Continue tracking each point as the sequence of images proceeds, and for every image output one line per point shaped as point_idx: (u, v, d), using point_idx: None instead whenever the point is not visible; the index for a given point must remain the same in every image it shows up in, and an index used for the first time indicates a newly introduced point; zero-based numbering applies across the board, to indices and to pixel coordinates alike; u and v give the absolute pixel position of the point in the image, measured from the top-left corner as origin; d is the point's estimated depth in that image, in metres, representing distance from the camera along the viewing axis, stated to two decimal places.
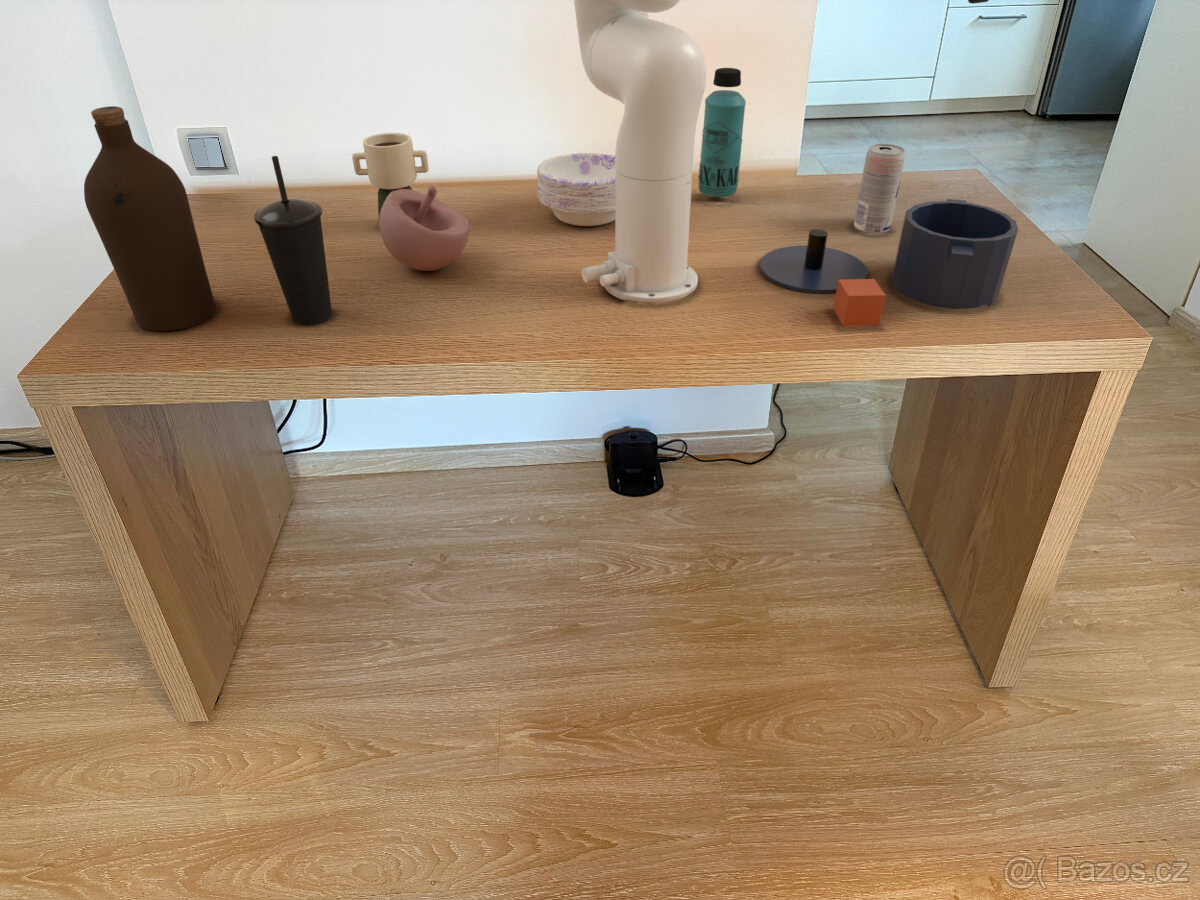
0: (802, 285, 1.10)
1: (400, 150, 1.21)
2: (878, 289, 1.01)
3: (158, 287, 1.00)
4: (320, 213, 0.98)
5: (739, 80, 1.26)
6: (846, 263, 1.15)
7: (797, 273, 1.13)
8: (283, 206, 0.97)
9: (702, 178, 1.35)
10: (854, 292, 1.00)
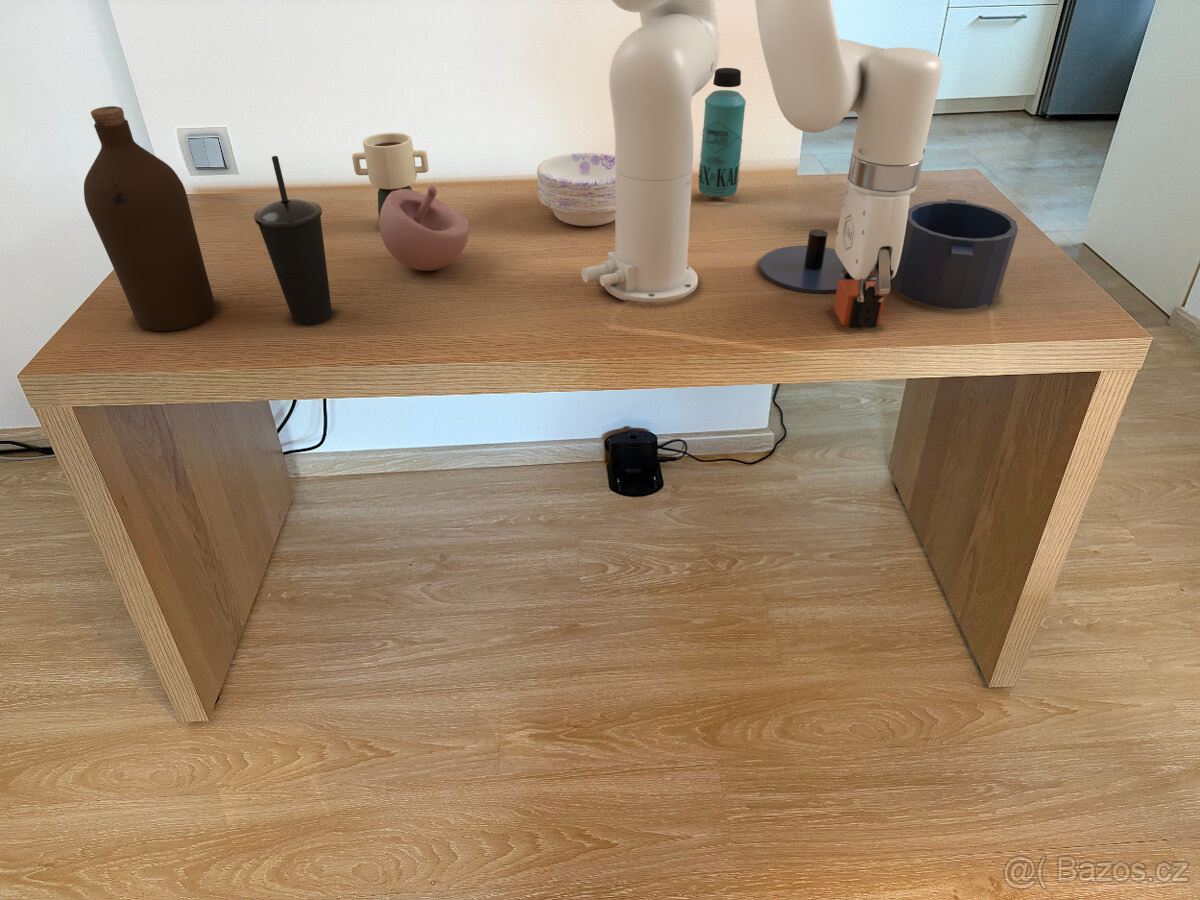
0: (802, 285, 1.10)
1: (400, 150, 1.21)
2: None
3: (158, 287, 1.00)
4: (320, 213, 0.98)
5: (739, 80, 1.26)
6: None
7: (797, 273, 1.13)
8: (283, 206, 0.97)
9: (702, 178, 1.35)
10: (854, 292, 1.00)
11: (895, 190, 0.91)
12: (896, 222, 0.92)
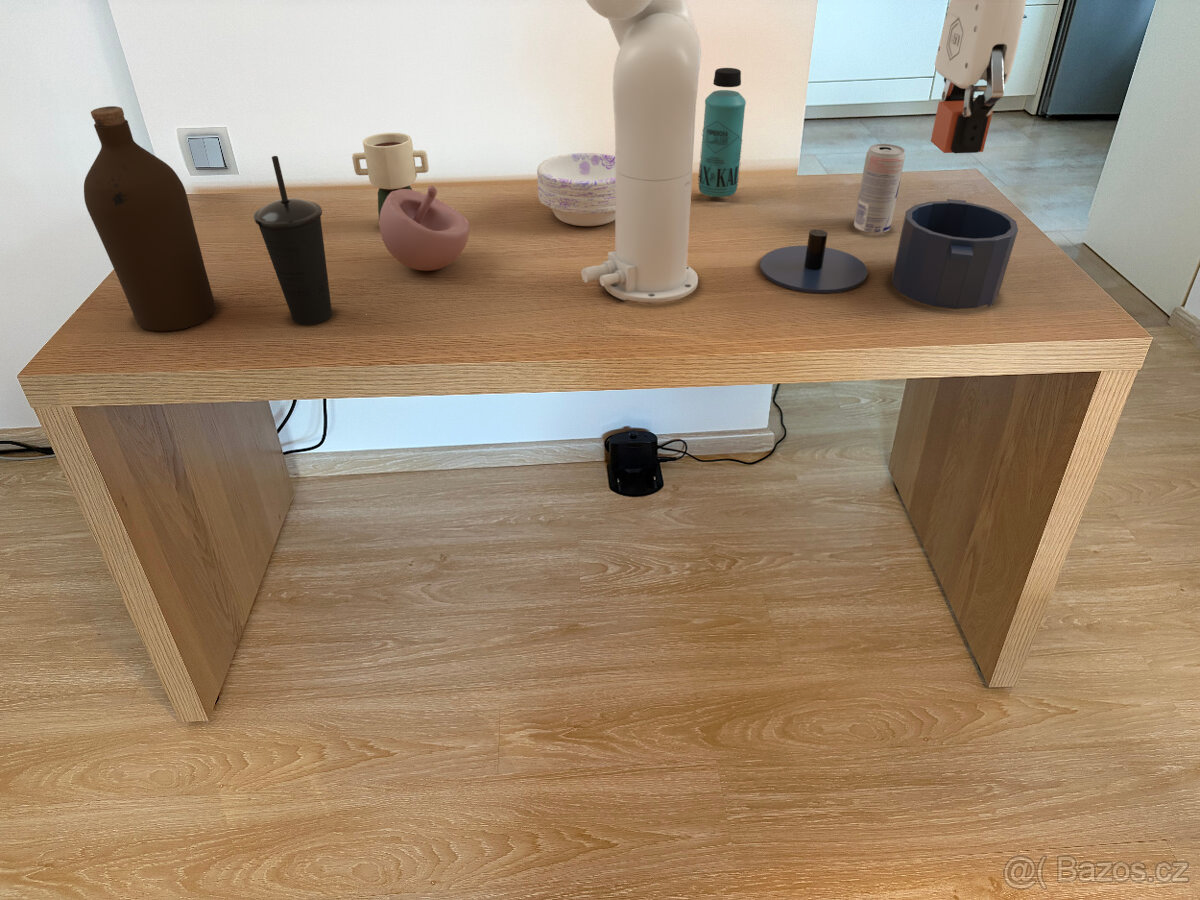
0: (802, 285, 1.10)
1: (400, 150, 1.21)
2: None
3: (158, 287, 1.00)
4: (320, 213, 0.98)
5: (739, 80, 1.26)
6: (846, 263, 1.15)
7: (797, 273, 1.13)
8: (283, 206, 0.97)
9: (702, 178, 1.35)
10: (958, 109, 0.94)
11: None
12: (1012, 15, 0.85)
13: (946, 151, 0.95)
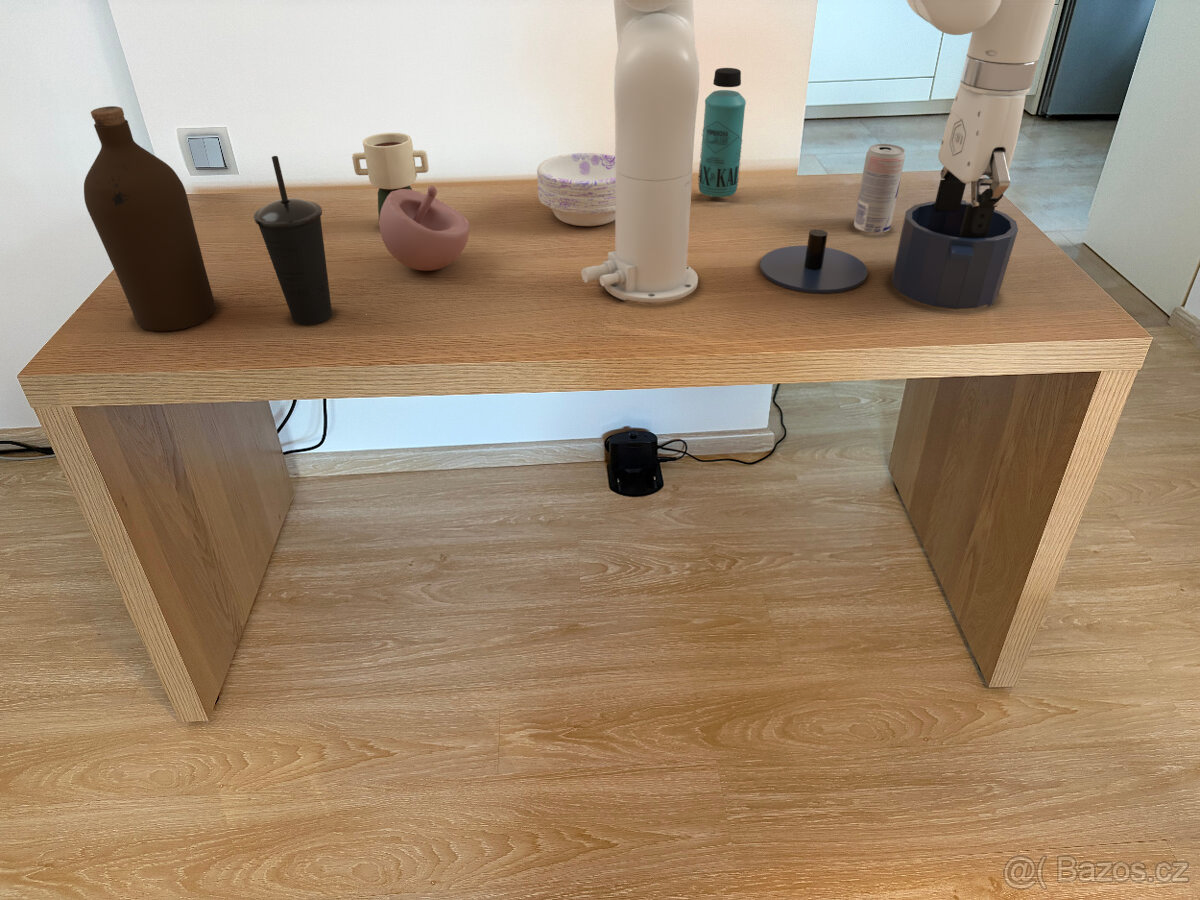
0: (802, 285, 1.10)
1: (400, 150, 1.21)
2: None
3: (158, 287, 1.00)
4: (320, 213, 0.98)
5: (739, 80, 1.26)
6: (846, 263, 1.15)
7: (797, 273, 1.13)
8: (283, 206, 0.97)
9: (702, 178, 1.35)
10: None
11: (1012, 89, 0.93)
12: (1011, 122, 0.94)
13: None
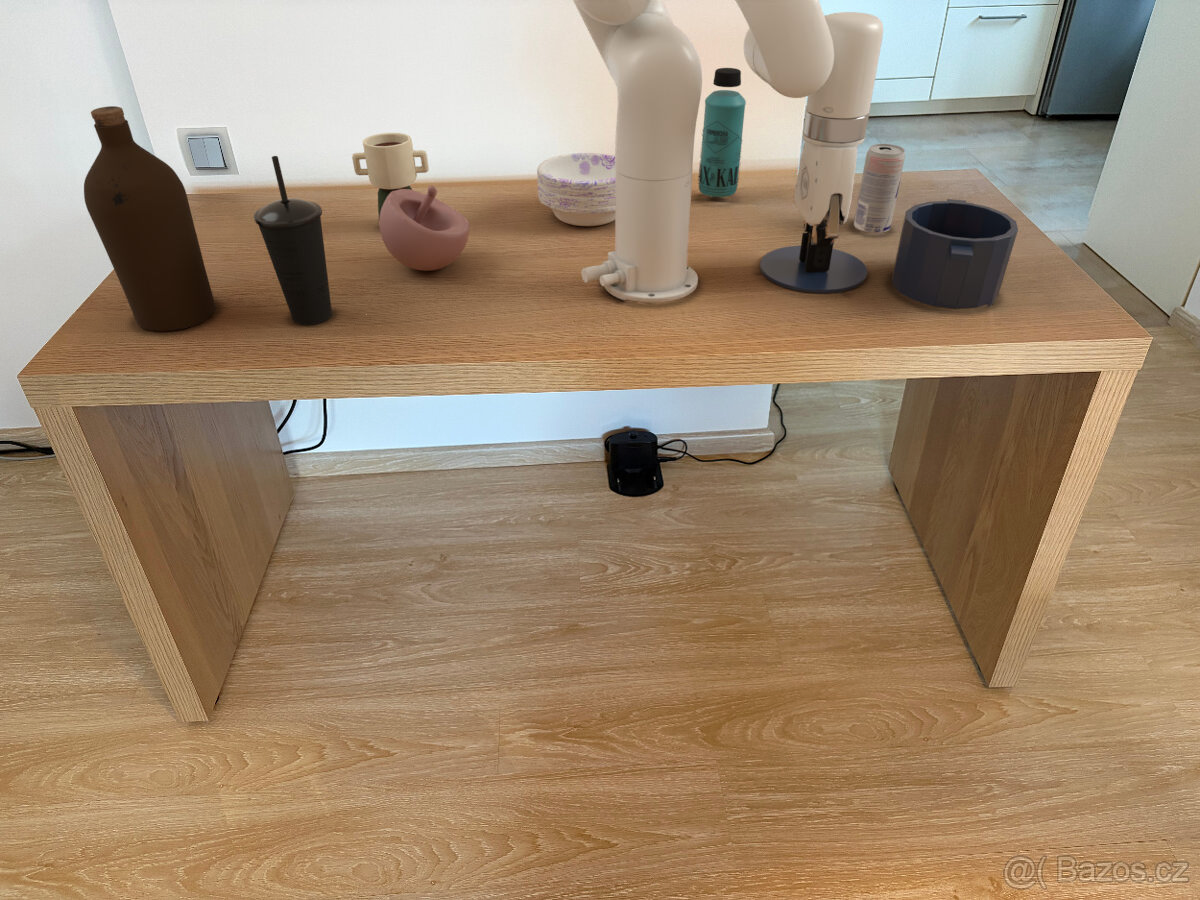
0: (802, 285, 1.10)
1: (400, 150, 1.21)
2: None
3: (158, 287, 1.00)
4: (320, 213, 0.98)
5: (739, 80, 1.26)
6: (846, 263, 1.15)
7: (797, 273, 1.13)
8: (283, 206, 0.97)
9: (702, 178, 1.35)
10: None
11: (844, 141, 1.01)
12: (845, 171, 1.02)
13: None
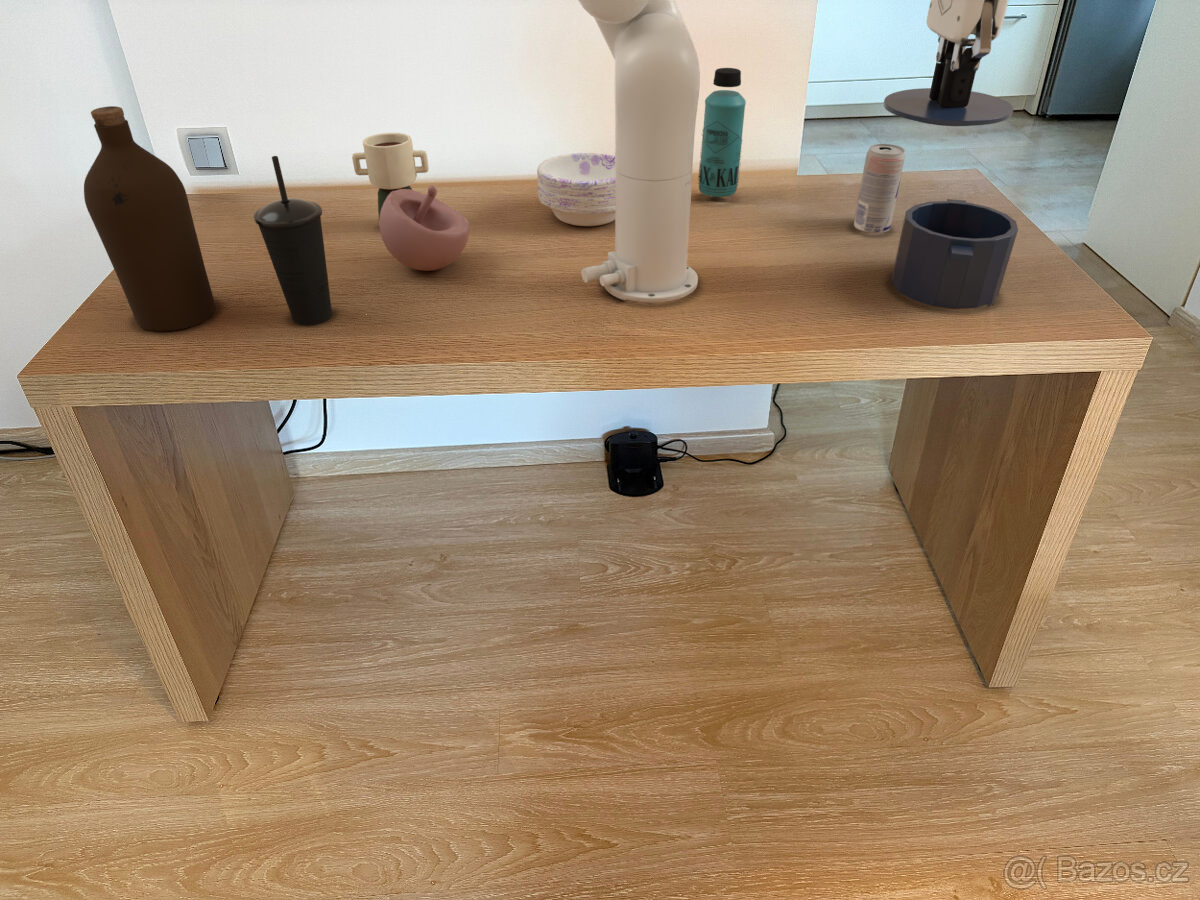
0: (941, 117, 0.94)
1: (400, 150, 1.21)
2: None
3: (158, 287, 1.00)
4: (320, 213, 0.98)
5: (739, 80, 1.26)
6: (985, 100, 0.99)
7: (931, 109, 0.97)
8: (283, 206, 0.97)
9: (702, 178, 1.35)
10: None
11: None
12: None
13: None
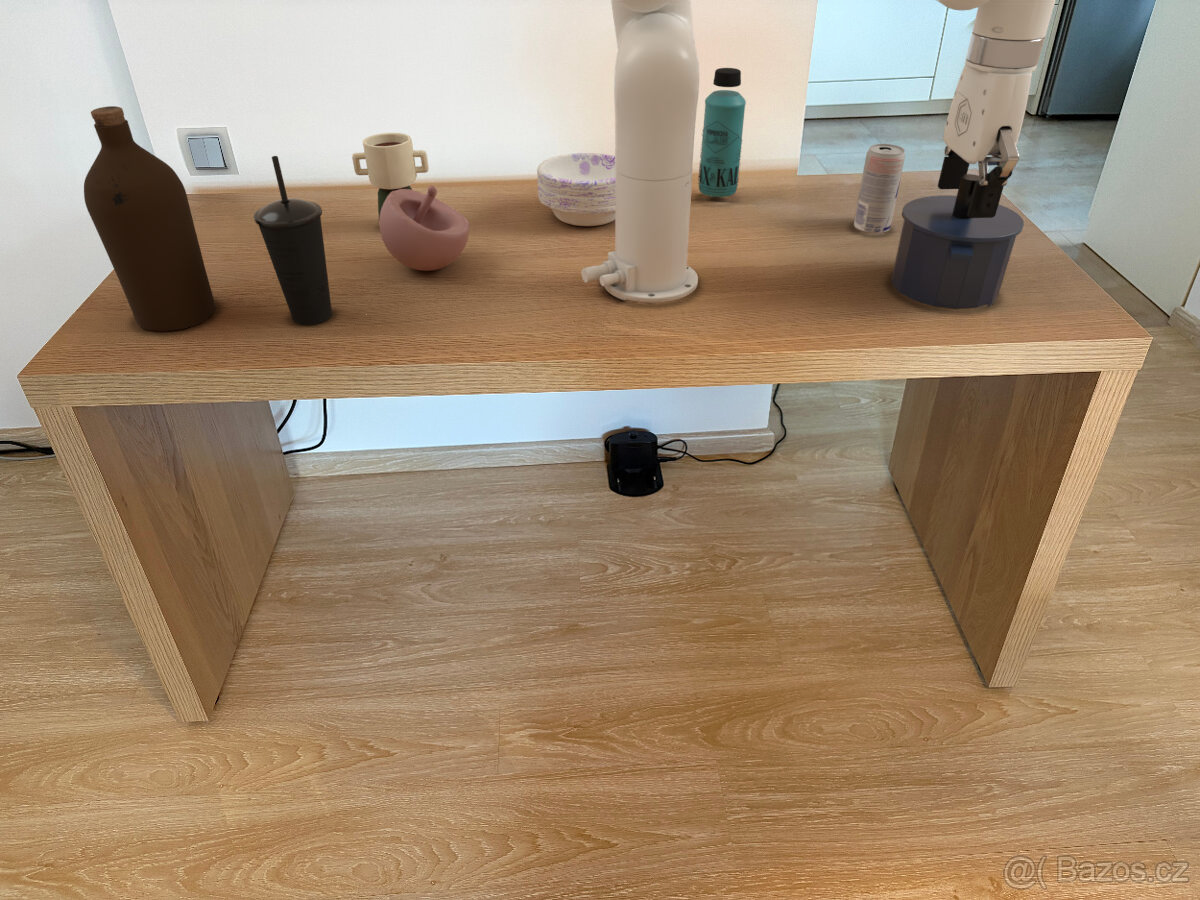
0: (957, 233, 1.00)
1: (400, 150, 1.21)
2: None
3: (158, 287, 1.00)
4: (320, 213, 0.98)
5: (739, 80, 1.26)
6: (997, 212, 1.06)
7: (947, 222, 1.03)
8: (283, 206, 0.97)
9: (702, 178, 1.35)
10: None
11: (1018, 67, 0.91)
12: (1017, 101, 0.92)
13: None
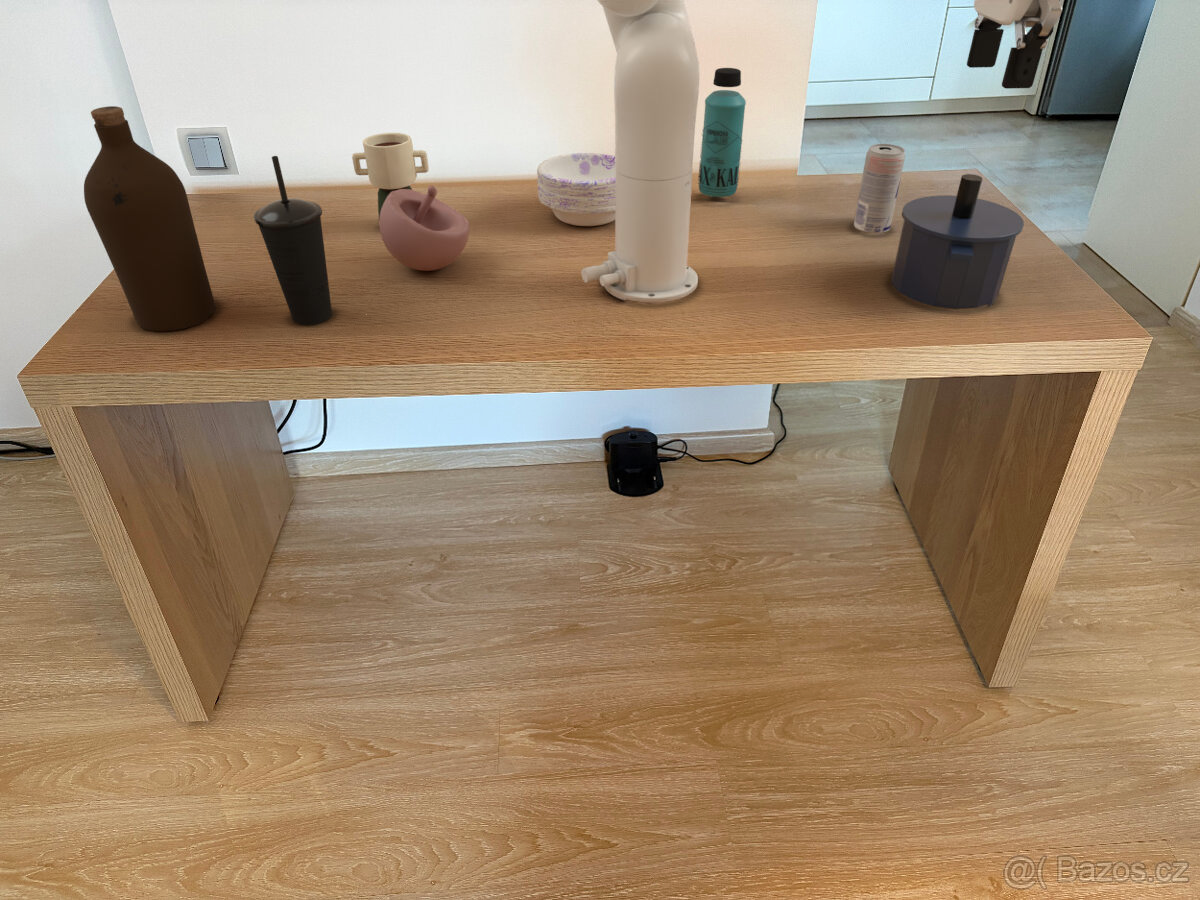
0: (957, 233, 1.00)
1: (400, 150, 1.21)
2: None
3: (158, 287, 1.00)
4: (320, 213, 0.98)
5: (739, 80, 1.26)
6: (997, 212, 1.06)
7: (947, 222, 1.03)
8: (283, 206, 0.97)
9: (702, 178, 1.35)
10: None
11: None
12: None
13: None
